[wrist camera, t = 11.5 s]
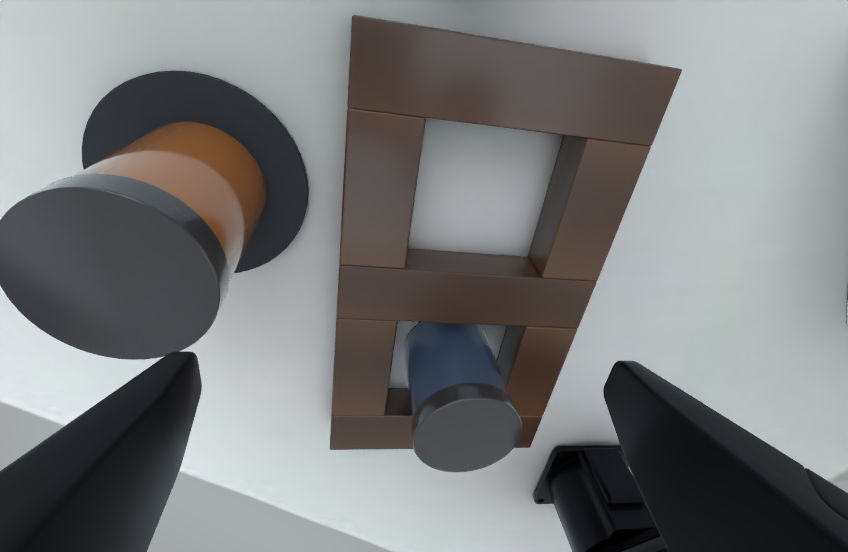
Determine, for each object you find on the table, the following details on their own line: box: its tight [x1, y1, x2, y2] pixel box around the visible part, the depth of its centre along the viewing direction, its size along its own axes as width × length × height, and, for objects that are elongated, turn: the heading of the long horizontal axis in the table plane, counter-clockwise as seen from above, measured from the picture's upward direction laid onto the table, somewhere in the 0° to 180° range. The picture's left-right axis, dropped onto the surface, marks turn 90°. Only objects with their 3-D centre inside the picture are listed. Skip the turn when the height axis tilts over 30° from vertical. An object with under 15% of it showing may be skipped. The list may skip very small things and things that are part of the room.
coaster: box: [82, 71, 308, 273], centre depth 19 cm, size 9×9×1 cm
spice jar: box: [404, 322, 522, 472], centre depth 23 cm, size 5×5×6 cm
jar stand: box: [330, 15, 682, 450], centre depth 23 cm, size 23×13×2 cm, turn 172°
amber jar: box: [0, 122, 266, 359], centre depth 16 cm, size 6×6×8 cm
